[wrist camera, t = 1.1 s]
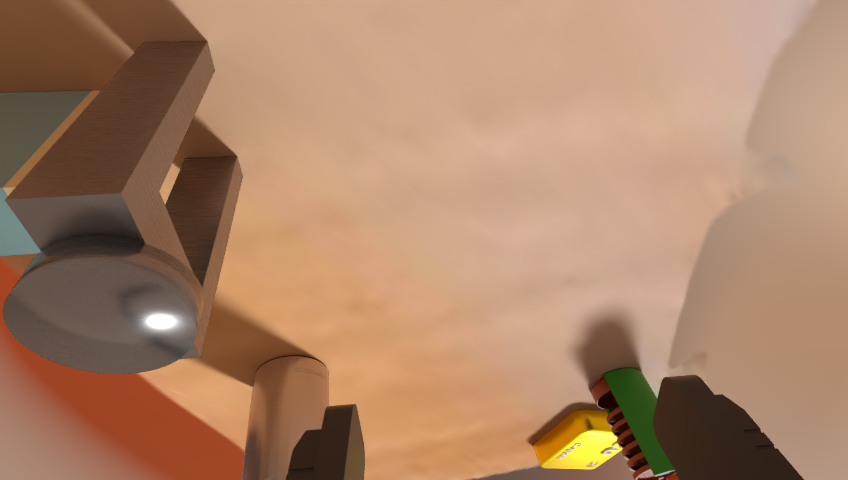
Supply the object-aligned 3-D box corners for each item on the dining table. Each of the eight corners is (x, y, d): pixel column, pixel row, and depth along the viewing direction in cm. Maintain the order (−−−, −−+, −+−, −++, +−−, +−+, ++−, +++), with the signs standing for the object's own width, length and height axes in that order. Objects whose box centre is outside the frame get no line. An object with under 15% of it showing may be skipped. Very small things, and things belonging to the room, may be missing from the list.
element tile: (576, 406, 79) (588, 432, 76) (634, 412, 86) (647, 436, 82) (528, 445, 87) (536, 471, 84) (584, 449, 94) (594, 472, 90)
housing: (173, 180, 37) (75, 403, 22) (119, 42, 30) (-77, 237, 15) (261, 175, 38) (223, 385, 23) (230, 41, 31) (148, 222, 16)
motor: (584, 381, 73) (650, 518, 58) (636, 359, 71) (719, 495, 56) (597, 404, 79) (661, 532, 65) (646, 384, 78) (722, 511, 63)
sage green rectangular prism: (-31, 153, 33) (-161, 268, 24) (-73, 94, 30) (-238, 200, 21) (159, 145, 35) (105, 248, 26) (138, 89, 32) (68, 184, 23)
